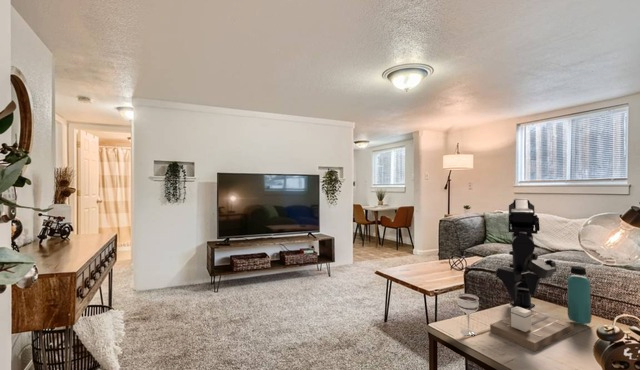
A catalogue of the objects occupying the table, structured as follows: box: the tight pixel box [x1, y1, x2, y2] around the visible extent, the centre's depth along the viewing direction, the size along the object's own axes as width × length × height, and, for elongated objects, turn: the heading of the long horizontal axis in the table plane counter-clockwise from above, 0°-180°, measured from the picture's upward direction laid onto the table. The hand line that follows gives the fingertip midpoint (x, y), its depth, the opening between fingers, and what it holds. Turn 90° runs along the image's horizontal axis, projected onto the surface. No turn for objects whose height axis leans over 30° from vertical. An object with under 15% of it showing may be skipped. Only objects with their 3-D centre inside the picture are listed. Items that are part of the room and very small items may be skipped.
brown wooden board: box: [489, 308, 574, 352], centre depth 106 cm, size 23×14×3 cm, turn 118°
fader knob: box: [510, 306, 531, 332], centre depth 103 cm, size 4×4×6 cm
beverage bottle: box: [566, 265, 593, 325], centre depth 110 cm, size 6×7×20 cm
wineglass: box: [456, 293, 480, 337], centre depth 106 cm, size 7×7×12 cm
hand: (523, 297), depth 102 cm, fingers open, 9 cm apart
